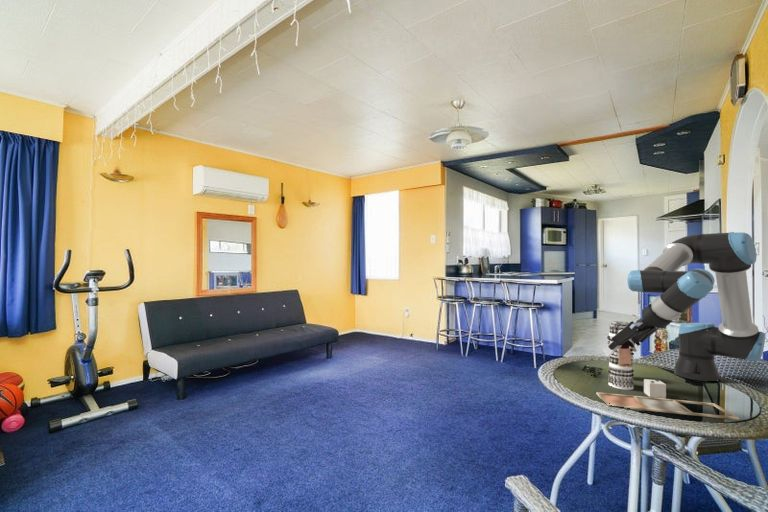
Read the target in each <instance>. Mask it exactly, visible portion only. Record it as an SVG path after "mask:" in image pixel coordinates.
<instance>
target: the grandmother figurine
mask: <svg viewBox="0 0 768 512" xmlns="http://www.w3.org/2000/svg"><path fill="white" fill-rule="evenodd" d="M621 330H623V329H621ZM621 330H619V331H618V333H619V332H620V331H621ZM629 346H630V347H631V348H632V349H633V353H634V352H635V353H637V348H636V345H633V343H632V342H631V341H630V340H628V341H626V342H625V343H623V344H622V345H621V347H620V348H619V349H618V350H619V364H618V366H621V367H626V366H627V367H632V365H633V362H632V363H631V354H630V349H629ZM624 364H626V366H625V365H624ZM631 364H632V365H631Z"/></svg>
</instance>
